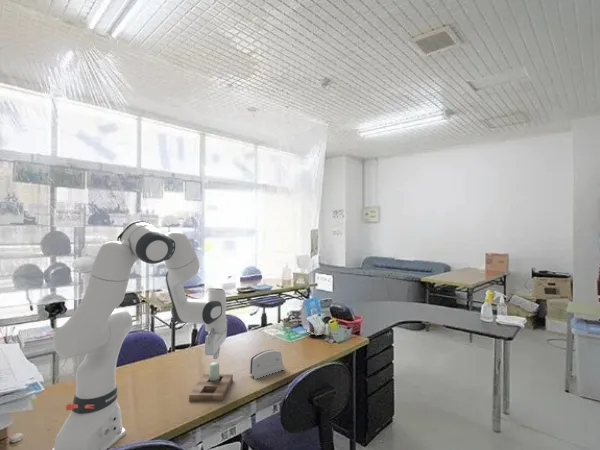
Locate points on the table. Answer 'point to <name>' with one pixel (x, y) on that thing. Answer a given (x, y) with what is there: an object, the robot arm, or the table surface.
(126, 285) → the robot arm
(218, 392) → the board
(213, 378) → the peg
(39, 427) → the table surface
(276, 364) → the grey rounded block
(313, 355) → the table surface
